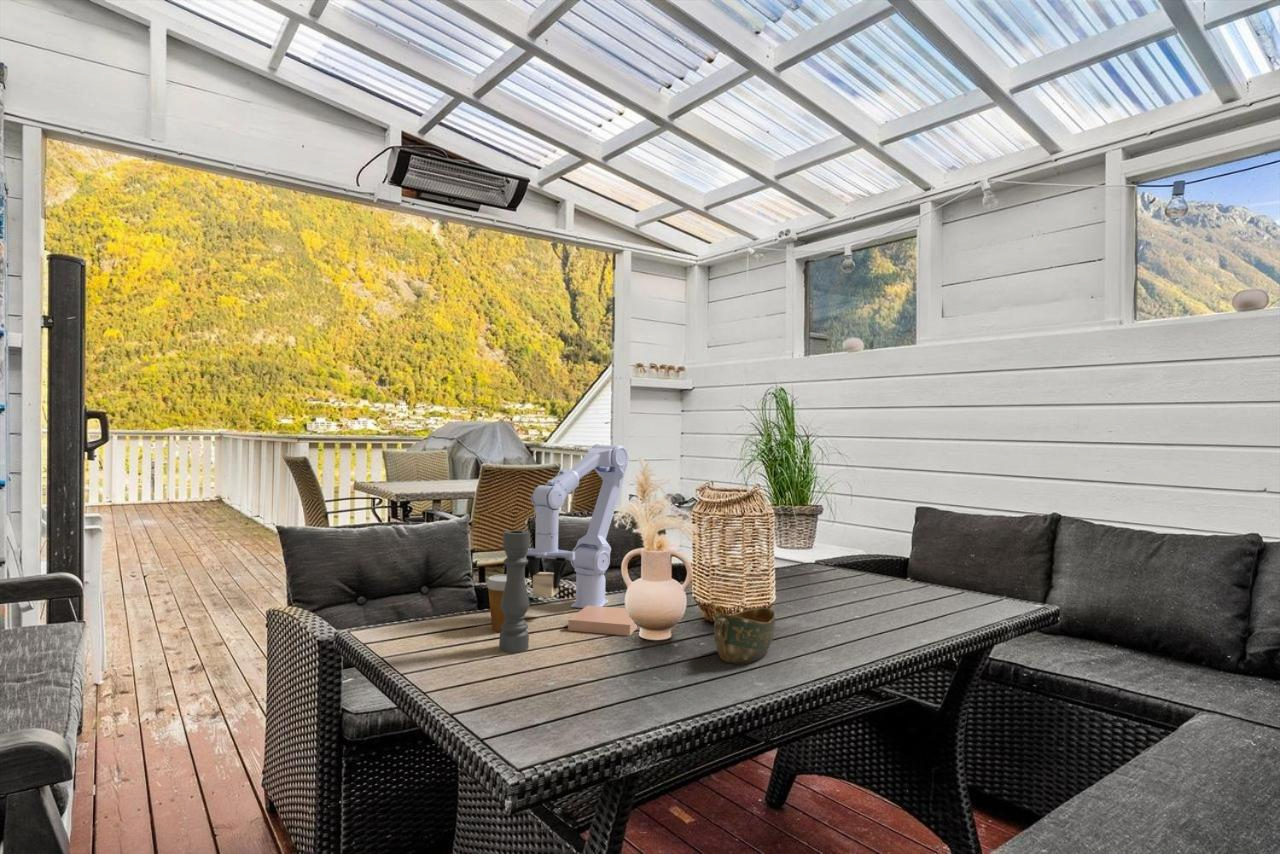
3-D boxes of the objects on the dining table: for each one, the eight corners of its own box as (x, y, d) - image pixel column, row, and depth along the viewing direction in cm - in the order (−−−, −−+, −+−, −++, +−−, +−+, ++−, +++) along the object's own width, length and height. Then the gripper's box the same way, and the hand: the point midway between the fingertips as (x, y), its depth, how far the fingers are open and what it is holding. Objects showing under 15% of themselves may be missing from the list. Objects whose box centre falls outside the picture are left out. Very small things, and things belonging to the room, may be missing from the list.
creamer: (686, 651, 157) (687, 604, 157) (762, 642, 166) (764, 598, 166) (718, 670, 146) (720, 619, 146) (798, 659, 154) (800, 612, 154)
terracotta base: (586, 615, 187) (587, 605, 187) (644, 619, 183) (644, 609, 183) (568, 630, 172) (568, 619, 172) (629, 635, 169) (630, 624, 169)
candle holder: (522, 653, 153) (525, 534, 154) (494, 651, 155) (497, 533, 155) (532, 645, 159) (535, 530, 160) (505, 643, 161) (508, 529, 161)
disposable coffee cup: (522, 634, 168) (523, 582, 168) (480, 633, 168) (482, 581, 168) (529, 623, 177) (530, 574, 177) (490, 622, 177) (491, 573, 177)
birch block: (539, 591, 187) (540, 571, 187) (558, 592, 186) (558, 573, 186) (532, 595, 182) (533, 575, 182) (551, 597, 181) (552, 576, 181)
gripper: (513, 533, 182) (512, 588, 182) (569, 536, 179) (568, 592, 179) (524, 530, 189) (523, 582, 189) (578, 532, 185) (577, 586, 185)
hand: (545, 587), depth 184 cm, fingers closed on birch block, 5 cm apart
